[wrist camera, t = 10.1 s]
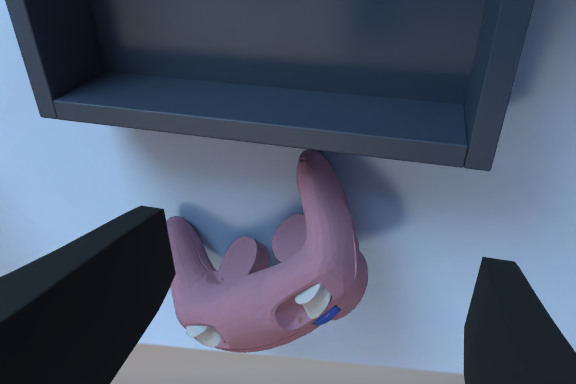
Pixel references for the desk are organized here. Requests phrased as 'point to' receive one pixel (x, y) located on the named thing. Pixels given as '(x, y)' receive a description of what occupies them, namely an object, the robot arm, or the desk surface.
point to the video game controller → (273, 272)
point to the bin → (284, 71)
